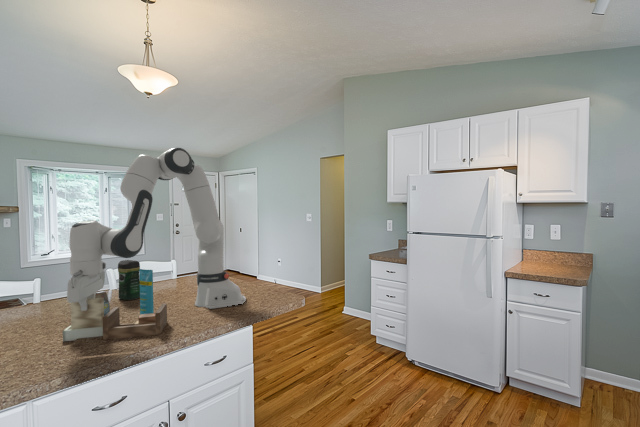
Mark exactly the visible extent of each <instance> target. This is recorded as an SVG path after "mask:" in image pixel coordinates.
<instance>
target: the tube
mask: <svg viewBox="0 0 640 427" xmlns="http://www.w3.org/2000/svg"><path fill="white" fill-rule="evenodd" d="M153 273H154V272H153V269H145V268H143V269H142V268H140V269H139V279H140V297H139V316H140V315H141V314H150V313H155V311H154V306H155V305H154V274H153Z"/></svg>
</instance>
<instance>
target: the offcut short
mask: <svg viewBox="0 0 640 427" xmlns="http://www.w3.org/2000/svg"><path fill="white" fill-rule="evenodd" d="M155 313H156V312H154V313H150V314H141V315H140V314H139V316H138V320H139V324H142V323H151V322H156V320H155Z"/></svg>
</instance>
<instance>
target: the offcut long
mask: <svg viewBox="0 0 640 427" xmlns="http://www.w3.org/2000/svg"><path fill="white" fill-rule="evenodd" d="M134 323H135V324H134V325H143V324H155V323H156V322H151V323H142V324H139V320H136V321H135V322H134Z"/></svg>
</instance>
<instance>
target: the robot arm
mask: <svg viewBox="0 0 640 427" xmlns="http://www.w3.org/2000/svg"><path fill="white" fill-rule="evenodd" d="M173 179H178V180H179V181H180V183H181V185H182V187H183V191H184V194H185V198H186V201H187V204H188V207H189V210H190V215H191V220H192V224H193V230H194V231H195V235H196V237H197V239H198V250H197V274H196V284H197V285H196V286H197V290H196V291H197V293H196V298H195V302H194V306H196V307H198V308H206V309H208V310H214V309H219V308H226V307H227V306H228V307H233V306H232V305H235V306H239V305H238V304H242V305H243V303H244V302H245V301H246V302H247V298H246V296H245V295H244V294H242V292H241V288H240V286H239V285H237V284H236V283H234V282H233V281H232V280H230V279H229V277H230V275H229V272H227V271H225V270H224V238H225V236H224V232H225V231H224V229H225V228H224V225H223V223H222V221H221V220H220V218H219V214H218V210H217V206H216V201H215V198H214V195H213V191H212V189H211V185H210V182H209V180H208V178H207V174H206V173H205V171H204V169H203V167H202V166H200V165H198V164H195V161H194V160H193V159H192V156H191V155H190V153H189V152H188V151H187V150H185V149H184V148H182V147H172V148H170V149H168V150H166V151H164V152H162V153H161V154H160V155H159V156H157V157H154V156H152V155H149V154H139V155H138V156H137V157H136V158H135V159H134V160H133V161H132V163H131V164H130V166H129V167H128V168H127V170H126V173H125V174H124V177H123V178H122V181H121V184H120V192H121V195H122V196H123V197H124V198H125V199H126V200H128V201H130V203H131V209H130V211H129V212H130V213H129V215H128V218H127V222H126V224H125V226H124V227H123V228H112V227H108V226H106V225H104V224H101V223H100V222H99V221H98V220H93V219H92V220H84V221H77V222H75V223H73V225H72V226H71V228H70V231H69V250H70V254H71V255H70V258H69V268H70V269H69V270H70V273H69V274H70V276H71V277H70V279H69V280H68V282H67V285H66V286H67V290H66V300H67V302H68V303H69V304H71V303H75V302H79V304H80V306H81V311H86V310H87V309H88V308H89V307H88V306H89V304H87V297H88V299H91V298H95V295H96V293H98V291H100V290H101V289H104V286H105V281H106V280H105V278H106V277H105V276H106V271H105V269H106V268H107V264H106V262H104V261H103V260H102V256H103V255H107V256H113V257H119V258H123V259H130V258H134V257H135V256H137V255H138V254H139V253H140V252H141V250H142V248H143V246H144V245H143V244H144V235H145V230H146V226H147V223H148V220H149V216H150V213H151V210H152V205H153V195H152V194H153V191H154V188H155V185H156V184H157V181H158V180H160V181H170V180H173ZM246 302H245V303H246ZM245 303H244V304H245Z"/></svg>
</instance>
